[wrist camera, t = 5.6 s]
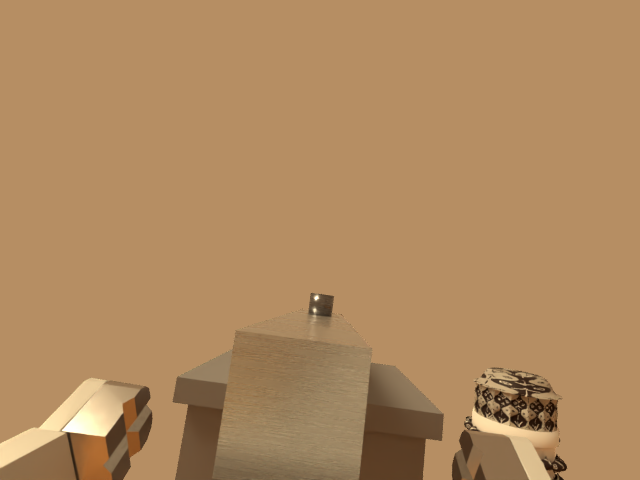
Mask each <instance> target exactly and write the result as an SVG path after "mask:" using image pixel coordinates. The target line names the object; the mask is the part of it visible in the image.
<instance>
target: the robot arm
mask: <svg viewBox="0 0 640 480" xmlns="http://www.w3.org/2000/svg"><path fill="white" fill-rule="evenodd" d="M149 399H150V392H149V388H148V387H145V386H140V385H134V384H128V383H121V382H116V381H108V380H101V379H95V378H90V379H88V380H86V381H84V382H83V383H82V384H81V385H80V386H79V387H78V388H77V389H76V390H75V391H74V392H73V393H72V395H70V396H69V398H68V399H67V400H66V401H65V402H64V403H63V404H62V405H61V406H60V407H59V408H58V409H57V410H56V411H55V412H54V413H53V414H52V415H51V416H50V417H49V418H48V419H47V420H46V421H45V422H44V423H43V424H42V425H41V426H40V427H39V428H31V429H29V430H27V431H25V432H23V433H21V434H19V435H17V436H15V437H13V438H11V439H9V440H7V441H5V442H3V443H1V444H0V480H123V479H124V477H125V475H126V474H127V472H128V470H129V469H130V467H131V466H130V457H131V456H133V455H134V454H136V453H137V452H139V451H140V450H141V449H142V447H143V445H144V444H145V442H146V440H147V438H148V435H149V432H150V429H151V424H152V411H151V410H150V409H149V407H148V406H147V405H146V404H147V402H148V401H149ZM459 442H460V445H461V448H462V449H461V450H460V451H458V452H457V453H455V456H454V460H453V464H452V478H453V480H551V478H550V476H549V474H548V472H547V471H546V469H545V467H544V465H543V463H542V461H541V459H540V458H539V456H538V454H537V452H536V450H535V448H534V446H533V444H532V443H531V441H530V440H529V439H528V438H526V437H518V436H510V435H503V434H495V433H487V432H479V431H471V430H464V431H463V432H462V434H461V437H460V440H459Z"/></svg>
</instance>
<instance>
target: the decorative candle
mask: <svg viewBox="0 0 640 480" xmlns="http://www.w3.org/2000/svg"><path fill="white" fill-rule="evenodd" d="M474 382H476V389H475V407H474V409H473V410H472V418H471V417H466V421H465V423H464V425H465V427H466V428H467V429H469V430H471V431H479V432H487V433H495V434H503V435H510V436H518V437H526V438H528V439H529V440H530V441H531V443H532V444H533V446H534V448H535V450H536V452H537V454H538V456H539V458H540V459H541V461H542V463H543V465H544V467H545V469H546V471H547V472H548V474H549V476H550V478H551V480H564V479H563V478H562V477H560V476H559V475H558V473H557V475H556V474H555V473H556V472H561V471H565V470H566V469H567V466H566V464H565V463H564V461H563V460H562V459H560V458H559V457H558V456H557V455H556V457H555V448H556V447H558V446H559V442H560V438H559V429H558V427H557V414H558V413H557V402H558V400H559V399H562V397H561V396H559V395H557V394H556V393H555V392H554V391H553V389H552V387H551V385H550V384H549V382H548V381H547V380H546V379H545V378H543V377H541V376H538V375H534V374H531V373H526V372H522V371H516V370H511V369H503V368H489V369H487V370H486V371H485V372H484V374H483V375H482V376H481V377H480V378H478V379H474Z"/></svg>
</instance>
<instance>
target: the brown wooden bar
mask: <svg viewBox="0 0 640 480" xmlns="http://www.w3.org/2000/svg"><path fill="white" fill-rule="evenodd" d="M333 300H334V296H329V295H322V294H314V293H311V296H310V304H309V310H303V309H302V310H299V311H296V312H292V313H289V314H286V315H283V316H280V317H276V318H273V319H270V320H267V321H264V322H261V323H257V324H254V325H251V326H248V327H245V328H242V329H238V330H236V332H235V338H234V345H233V351H232V357H231V364H230V370H229V376H228V382H227V389H226V395H225V401H224V407H223V414H222V420H221V426H220V432H219V439H218V445H217V451H216V458H215V464H214V470H213V476H212V478H214V479H220V480H359V474H360V464H361V454H362V444H363V434H364V424H365V414H366V404H367V394H368V384H369V374H370V365H371V354H372V348H371V347H370V346H369V345H368V344H367V342H366V341H365V340H364V339H363V338H362V337H361V336H360V334H359V333H358V332H357V331H356V330H355V329H354V328H353V327H352V326H351V324H350V323H349V322H347V320H346V319H345V318H344V317H343V316H342V315H341V314H334V313H332V308H333Z"/></svg>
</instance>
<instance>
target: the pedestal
mask: <svg viewBox="0 0 640 480" xmlns="http://www.w3.org/2000/svg"><path fill="white" fill-rule="evenodd" d="M232 351H233V349H232V350H230V351H228V352H226V353H224V354H222V355H220V356H218V357H216V358H214V359H212V360H210V361H208V362H206V363H204V364H202V365H200V366H198V367H196V368H194V369H192V370H190V371H188V372H186V373H184V374H182V375H180V376H178V377H177V381H176V387H175V392H174V397H173V402H175V403H182V404H188V410H187V415H186V421H185V427H184V433H183V439H182V444H181V450H180V456H179V461H178V467H177V473H176V478H175V480H220V479H214V478H212V476H213V470H214V464H215V458H216V451H217V445H218V439H219V432H220V426H221V420H222V414H223V407H224V401H225V395H226V389H227V382H228V376H229V370H230V364H231V357H232ZM442 430H443V413H442V412H441V411H440V410H439V409H438V408H437V407H436V406H435V405H434V404H433V403H432V402H431V401H430V400H429V399H428V398H427V397H426V396H425V395H424V394H423V393H421V391H420V390H419V389H418V388H416V386H415V385H414V384H412V382H411V381H410V380H409V379H408V378H407V377H406V376H404V375H403V373H401V372H400V371H399V370H398V369H397V368H396V367H395V366H390V365H383V364H375V363H371V365H370V374H369V384H368V394H367V404H366V414H365V424H364V434H363V444H362V454H361V464H360V474H359V480H423V467H424V454H425V440H426V439H433V440H439V441H442Z"/></svg>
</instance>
